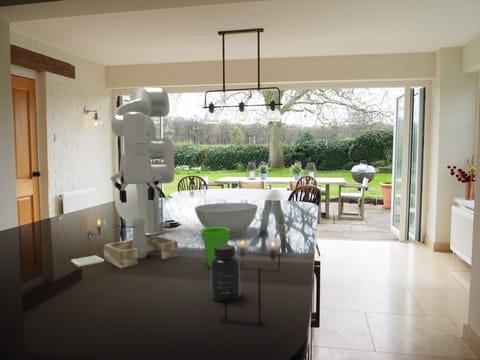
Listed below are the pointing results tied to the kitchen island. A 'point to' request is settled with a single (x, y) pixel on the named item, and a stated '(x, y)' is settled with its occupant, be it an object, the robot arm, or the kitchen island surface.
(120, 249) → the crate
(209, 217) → the decorative bowl
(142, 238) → the salt shaker
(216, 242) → the cup
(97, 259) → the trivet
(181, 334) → the kitchen island surface
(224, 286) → the supplement bottle
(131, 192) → the lamp
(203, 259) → the kitchen island surface
